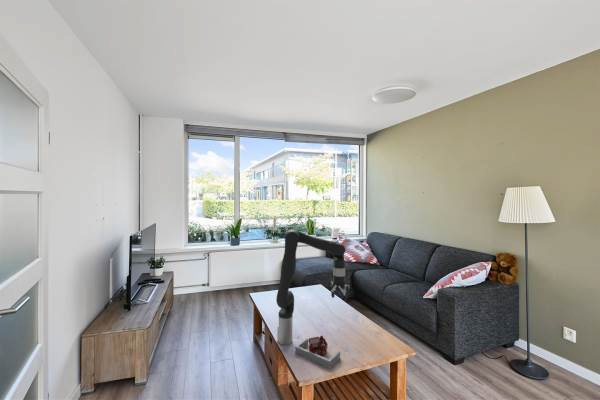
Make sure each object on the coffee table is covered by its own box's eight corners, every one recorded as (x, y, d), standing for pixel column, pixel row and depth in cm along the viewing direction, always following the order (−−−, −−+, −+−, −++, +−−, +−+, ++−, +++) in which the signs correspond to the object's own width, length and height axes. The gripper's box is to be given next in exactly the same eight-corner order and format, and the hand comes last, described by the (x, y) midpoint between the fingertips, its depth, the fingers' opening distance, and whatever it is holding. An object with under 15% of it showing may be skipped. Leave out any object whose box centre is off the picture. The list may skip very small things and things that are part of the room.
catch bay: (295, 352, 170) (295, 346, 170) (306, 344, 180) (306, 338, 180) (329, 368, 155) (329, 361, 155) (340, 358, 165) (340, 351, 165)
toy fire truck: (329, 354, 169) (329, 337, 168) (311, 358, 164) (311, 341, 164) (324, 348, 175) (324, 332, 175) (306, 352, 171) (306, 335, 171)
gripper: (326, 273, 179) (326, 298, 180) (346, 277, 171) (346, 303, 171) (332, 271, 185) (332, 294, 186) (351, 274, 177) (351, 299, 177)
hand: (338, 299), depth 179 cm, fingers open, 8 cm apart
